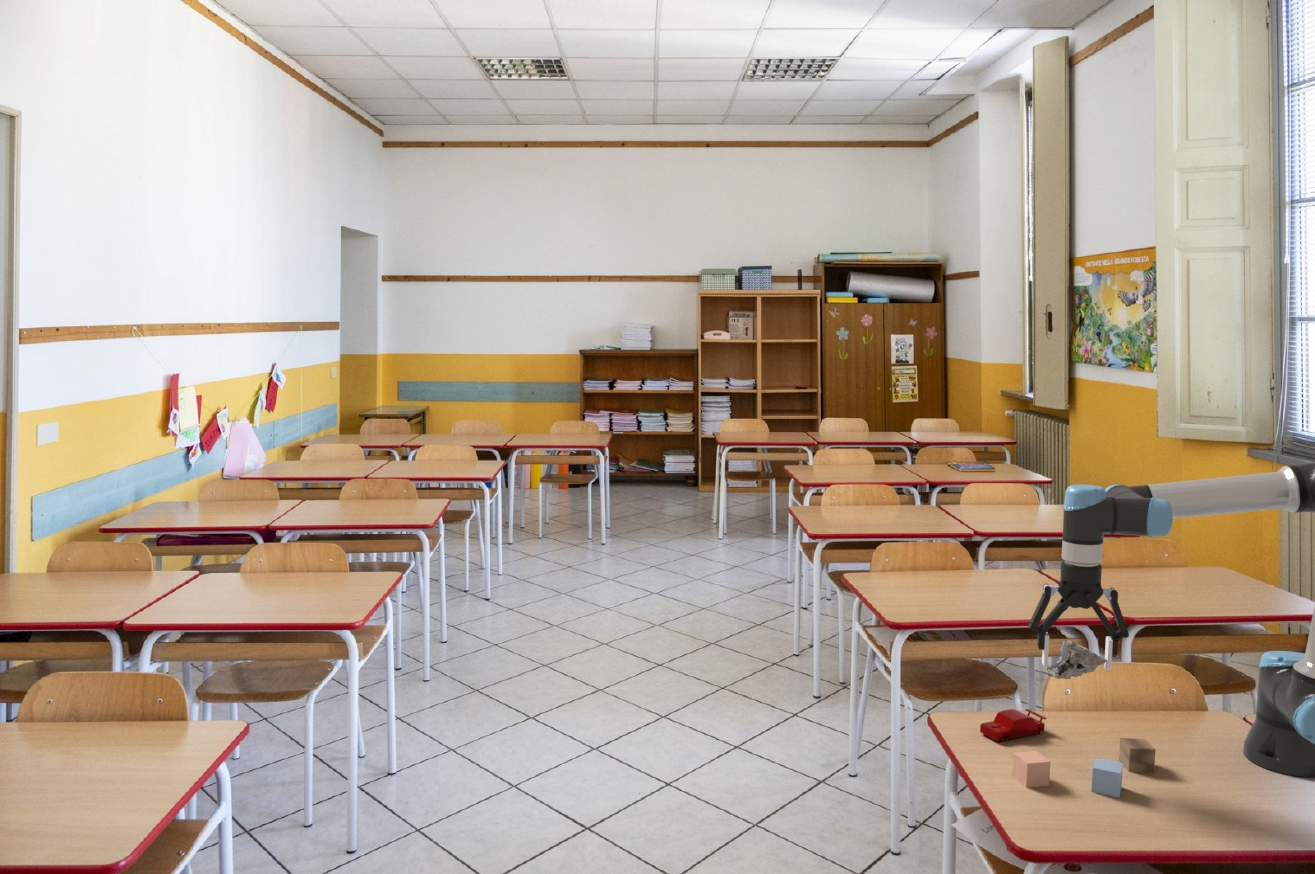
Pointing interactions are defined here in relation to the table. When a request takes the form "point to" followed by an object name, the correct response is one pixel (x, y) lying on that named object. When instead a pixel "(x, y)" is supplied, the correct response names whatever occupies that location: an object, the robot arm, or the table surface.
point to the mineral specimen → (1074, 661)
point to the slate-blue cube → (1107, 777)
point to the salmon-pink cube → (1031, 769)
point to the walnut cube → (1137, 755)
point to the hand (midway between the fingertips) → (1076, 667)
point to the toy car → (1012, 725)
